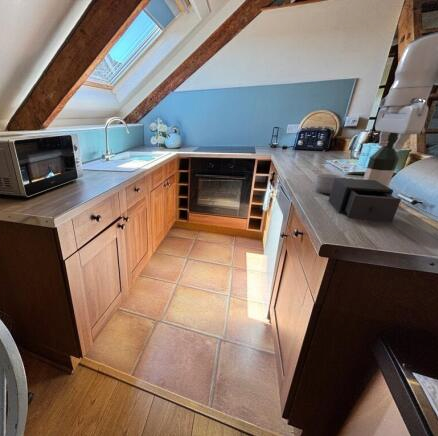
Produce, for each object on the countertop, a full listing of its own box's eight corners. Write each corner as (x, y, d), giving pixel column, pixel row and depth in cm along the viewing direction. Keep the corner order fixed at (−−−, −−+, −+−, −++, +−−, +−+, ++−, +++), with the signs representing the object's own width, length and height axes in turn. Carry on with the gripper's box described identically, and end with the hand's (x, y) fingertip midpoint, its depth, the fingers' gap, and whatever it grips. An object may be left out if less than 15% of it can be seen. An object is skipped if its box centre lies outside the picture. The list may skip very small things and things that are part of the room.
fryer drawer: (393, 224, 76) (403, 200, 73) (349, 219, 80) (356, 196, 77) (374, 208, 88) (381, 187, 85) (336, 205, 92) (342, 185, 89)
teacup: (310, 192, 110) (314, 175, 107) (315, 187, 118) (319, 171, 115) (348, 198, 102) (354, 180, 98) (351, 193, 109) (357, 175, 106)
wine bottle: (356, 194, 107) (380, 121, 95) (382, 197, 102) (410, 121, 91) (357, 199, 101) (383, 121, 89) (384, 202, 96) (415, 121, 85)
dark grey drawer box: (383, 217, 83) (393, 190, 79) (338, 212, 87) (346, 187, 84) (366, 204, 95) (375, 180, 92) (328, 200, 100) (334, 177, 96)
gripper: (444, 96, 62) (421, 152, 68) (402, 101, 80) (386, 144, 85) (412, 98, 64) (392, 151, 70) (377, 101, 82) (364, 144, 87)
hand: (389, 147), depth 78 cm, fingers open, 8 cm apart
